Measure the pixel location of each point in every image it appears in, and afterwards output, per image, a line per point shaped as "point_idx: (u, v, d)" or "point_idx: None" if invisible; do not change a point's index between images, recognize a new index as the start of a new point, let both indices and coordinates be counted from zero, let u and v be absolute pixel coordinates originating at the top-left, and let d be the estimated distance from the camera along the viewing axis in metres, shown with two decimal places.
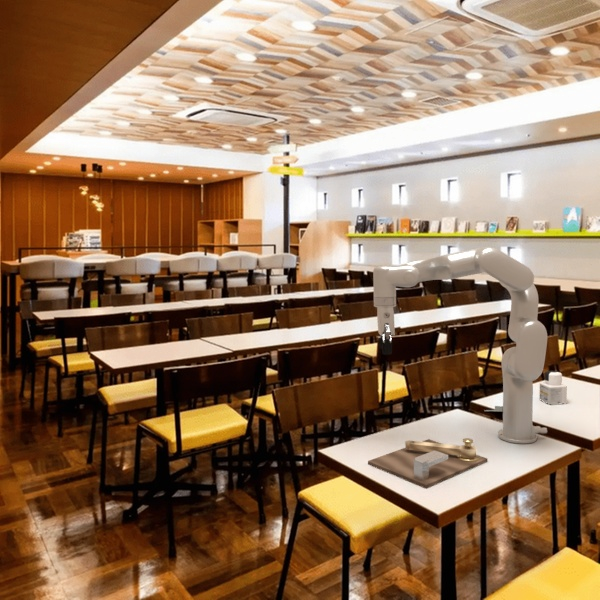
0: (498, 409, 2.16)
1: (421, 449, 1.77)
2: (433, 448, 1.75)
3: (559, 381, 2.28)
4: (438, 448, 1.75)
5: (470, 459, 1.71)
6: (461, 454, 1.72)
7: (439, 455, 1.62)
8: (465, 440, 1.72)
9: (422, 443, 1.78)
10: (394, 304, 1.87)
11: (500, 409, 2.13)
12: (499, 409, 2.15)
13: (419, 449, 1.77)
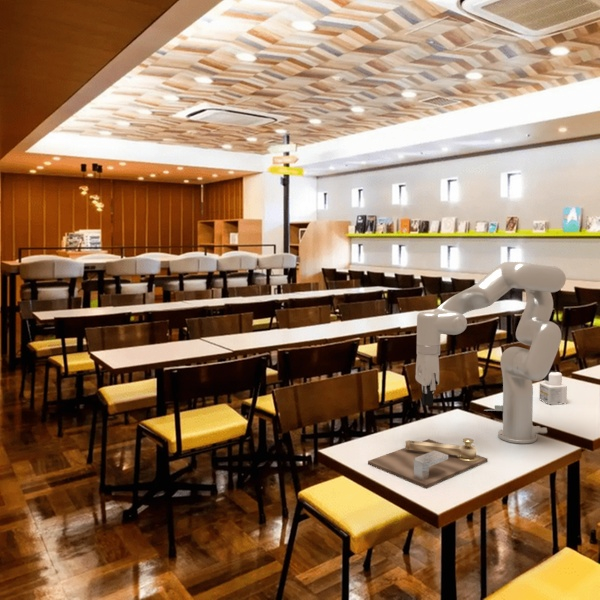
0: (498, 408, 2.17)
1: (421, 449, 1.77)
2: (433, 448, 1.75)
3: (559, 381, 2.28)
4: (438, 448, 1.75)
5: (470, 459, 1.71)
6: (461, 454, 1.72)
7: (439, 455, 1.62)
8: (465, 440, 1.72)
9: (422, 443, 1.78)
10: None
11: (500, 408, 2.14)
12: (499, 408, 2.15)
13: (419, 449, 1.77)
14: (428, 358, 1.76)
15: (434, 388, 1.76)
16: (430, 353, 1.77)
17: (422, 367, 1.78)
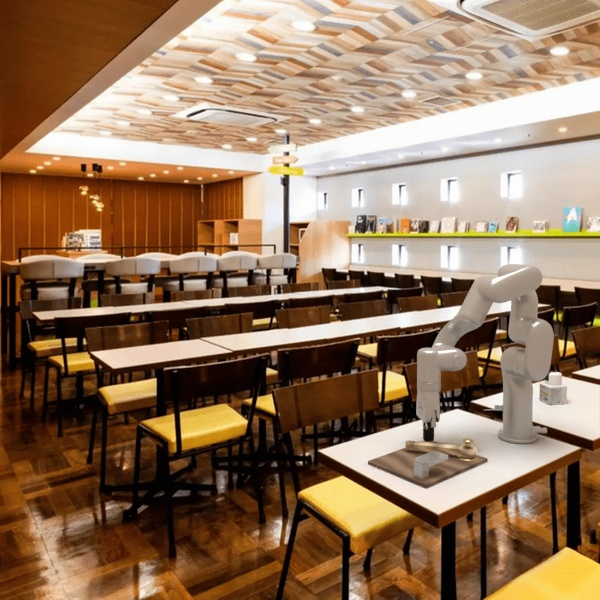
0: (498, 408, 2.17)
1: (421, 449, 1.77)
2: (433, 448, 1.75)
3: (559, 381, 2.28)
4: (438, 448, 1.75)
5: (470, 459, 1.71)
6: (461, 454, 1.72)
7: (439, 455, 1.62)
8: (465, 440, 1.72)
9: (422, 443, 1.78)
10: None
11: (500, 408, 2.15)
12: (499, 408, 2.16)
13: (419, 449, 1.77)
14: (428, 395, 1.77)
15: (435, 425, 1.78)
16: (430, 390, 1.78)
17: (423, 404, 1.79)
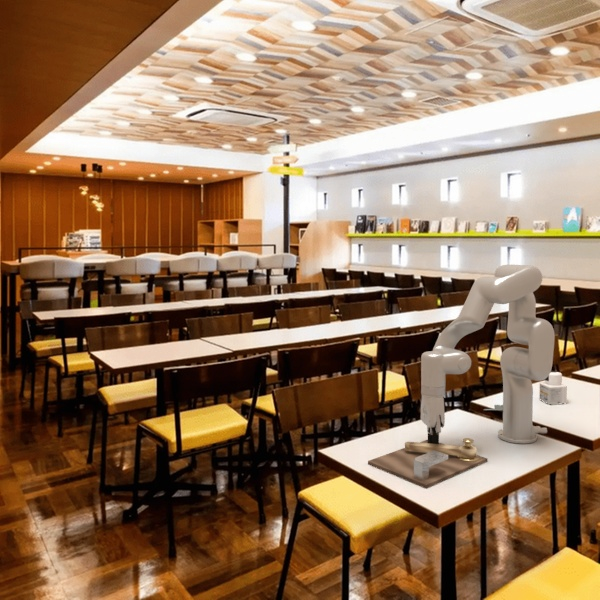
0: (498, 408, 2.17)
1: (421, 450, 1.76)
2: (433, 448, 1.75)
3: (559, 381, 2.28)
4: (439, 449, 1.74)
5: (470, 459, 1.71)
6: (461, 454, 1.72)
7: (439, 455, 1.62)
8: (465, 440, 1.72)
9: (422, 444, 1.77)
10: None
11: (500, 408, 2.15)
12: (499, 408, 2.16)
13: (418, 450, 1.76)
14: (433, 400, 1.73)
15: (439, 430, 1.73)
16: (435, 394, 1.74)
17: (427, 408, 1.75)
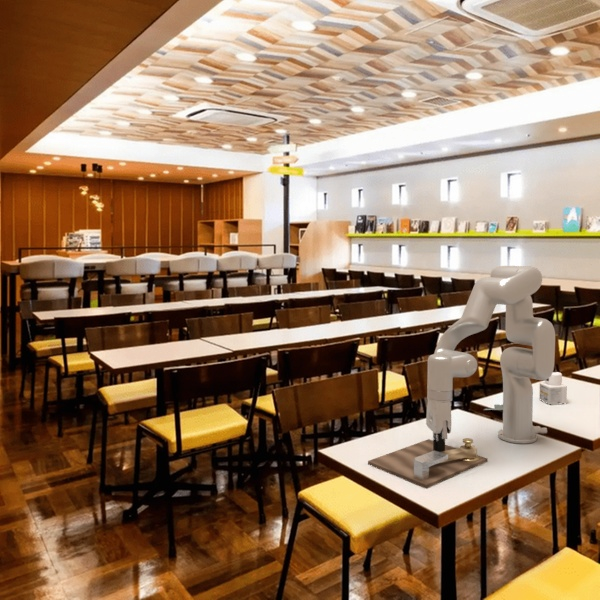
0: (498, 407, 2.18)
1: None
2: None
3: (559, 381, 2.28)
4: (448, 456, 1.68)
5: (470, 459, 1.71)
6: (467, 456, 1.70)
7: (439, 455, 1.62)
8: (465, 440, 1.72)
9: None
10: None
11: (500, 407, 2.15)
12: (499, 407, 2.16)
13: None
14: (439, 404, 1.66)
15: (446, 436, 1.66)
16: (441, 399, 1.67)
17: (433, 413, 1.68)
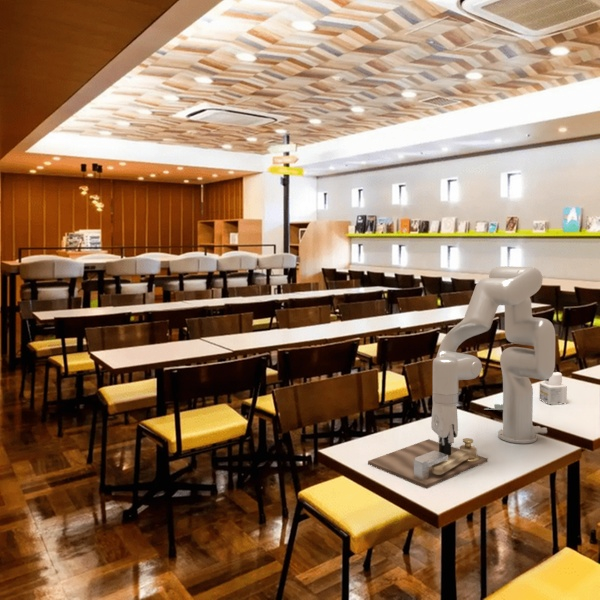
0: (498, 407, 2.18)
1: (449, 468, 1.62)
2: (455, 461, 1.64)
3: (559, 381, 2.28)
4: (458, 459, 1.65)
5: (470, 459, 1.71)
6: (470, 456, 1.70)
7: (439, 455, 1.62)
8: (465, 440, 1.72)
9: (444, 461, 1.63)
10: None
11: (500, 407, 2.16)
12: (499, 407, 2.17)
13: (447, 468, 1.61)
14: (445, 408, 1.63)
15: (452, 440, 1.63)
16: (447, 402, 1.64)
17: (439, 417, 1.65)
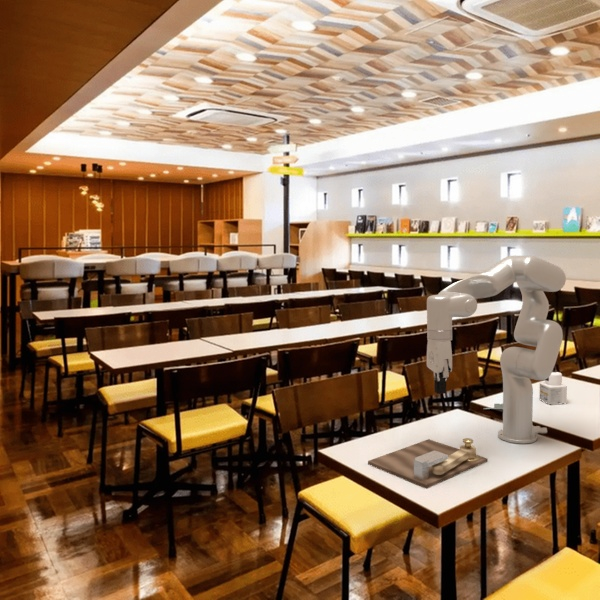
0: (498, 407, 2.19)
1: (449, 468, 1.62)
2: (455, 461, 1.64)
3: (559, 381, 2.28)
4: (458, 459, 1.65)
5: (470, 459, 1.71)
6: (470, 456, 1.70)
7: (439, 455, 1.62)
8: (465, 440, 1.72)
9: (444, 461, 1.63)
10: None
11: (501, 407, 2.16)
12: (499, 407, 2.18)
13: (448, 468, 1.61)
14: (440, 343, 1.68)
15: (447, 375, 1.68)
16: (442, 338, 1.68)
17: (434, 353, 1.70)
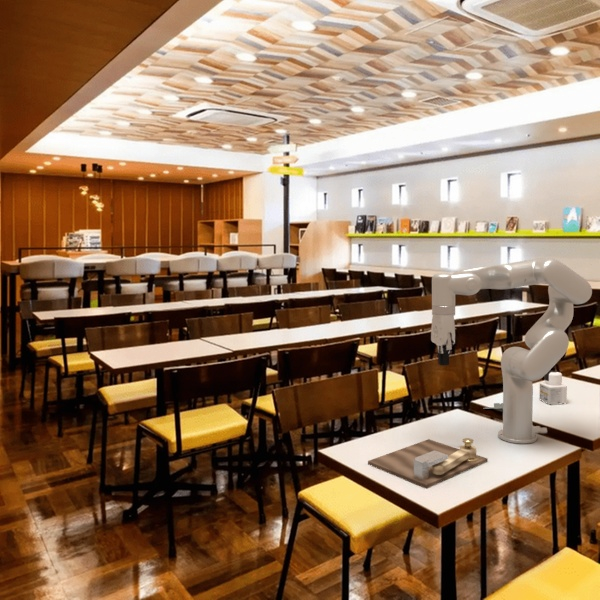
0: (498, 406, 2.20)
1: (449, 468, 1.62)
2: (455, 461, 1.64)
3: (559, 381, 2.28)
4: (458, 459, 1.65)
5: (470, 459, 1.71)
6: (470, 456, 1.70)
7: (439, 455, 1.62)
8: (465, 440, 1.72)
9: (444, 461, 1.63)
10: None
11: (500, 406, 2.17)
12: (499, 406, 2.18)
13: (448, 468, 1.61)
14: (444, 318, 1.80)
15: (450, 347, 1.80)
16: (446, 313, 1.81)
17: (438, 327, 1.82)
